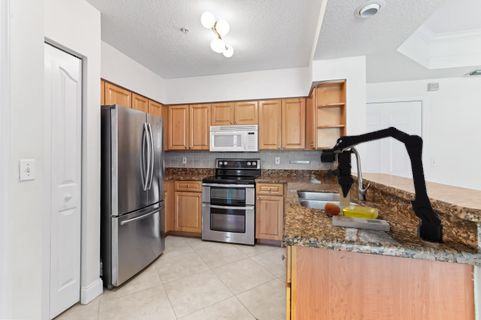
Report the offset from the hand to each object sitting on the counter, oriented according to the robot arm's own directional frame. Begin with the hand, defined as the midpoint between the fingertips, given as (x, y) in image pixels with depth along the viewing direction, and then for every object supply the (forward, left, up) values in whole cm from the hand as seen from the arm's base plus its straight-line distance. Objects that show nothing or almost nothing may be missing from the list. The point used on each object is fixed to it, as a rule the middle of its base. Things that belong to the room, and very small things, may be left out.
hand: (344, 196), depth 102 cm
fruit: (+5, -15, -13) cm, 20 cm away
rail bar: (-6, 0, -13) cm, 14 cm away
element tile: (-9, -18, -13) cm, 24 cm away
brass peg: (0, 0, -4) cm, 4 cm away
